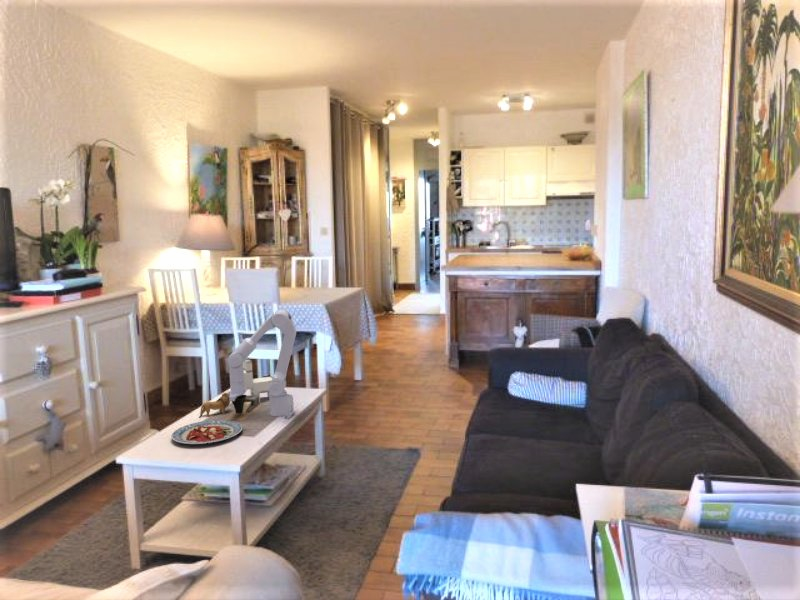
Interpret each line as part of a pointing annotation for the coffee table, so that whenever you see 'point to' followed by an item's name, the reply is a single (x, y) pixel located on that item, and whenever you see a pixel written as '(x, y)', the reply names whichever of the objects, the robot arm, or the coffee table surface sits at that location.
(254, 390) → the toy llama
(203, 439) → the ceramic plate
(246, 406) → the slat
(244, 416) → the cradle
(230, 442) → the coffee table surface
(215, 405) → the lion figurine
